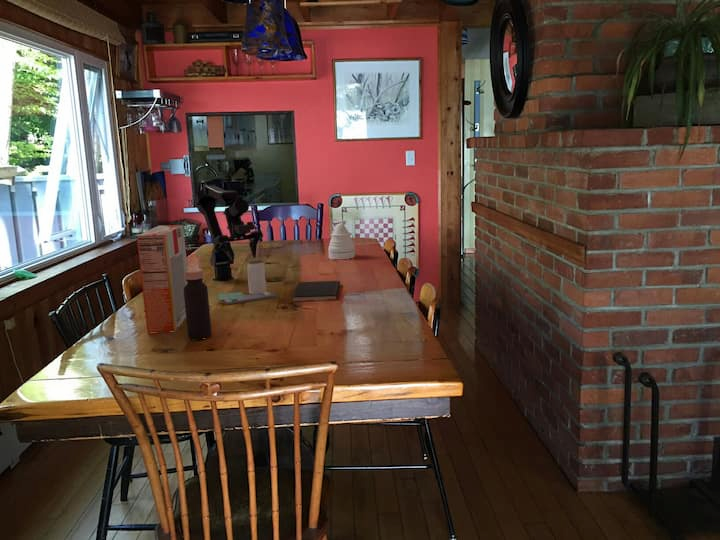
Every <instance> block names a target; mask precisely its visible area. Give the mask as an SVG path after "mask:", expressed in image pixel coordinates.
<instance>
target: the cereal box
mask: <svg viewBox="0 0 720 540" xmlns="http://www.w3.org/2000/svg"><path fill="white" fill-rule="evenodd" d="M136 245H137V254H138V261H139V270H140V279H141V286H142V287H141V289H142V296H143V305H144V313H145V322H146V323H145V324H146V331H147V332H146V333H147V334H148V333H150V332H170V331H175V330H176V329H177V327H178V326H179V325H180V324H181V323H182V321H183V320H184V319H185V318H186V311H185V301H184V291H183V289H184V287H185V286H186V285H187V281H186V277H185V271H187V270H189V269H188V260H187V251H186V248H187V247H186V241H185V229H184V224H172V225H171V224H169V225H166V224H165V225H158V226H155V227H152V228H151V229H149V230H146V231H144V232H142V233H140V234H138V235H136ZM185 320H186V319H185ZM185 320H184V321H185ZM182 324H183V323H182ZM182 324H181V325H182ZM181 325H180V326H181ZM180 326H179V327H180ZM177 330H178V329H177ZM177 330H176V331H177ZM176 331H175V332H176Z"/></svg>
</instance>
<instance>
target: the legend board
mask: <svg viewBox="0 0 720 540" xmlns="http://www.w3.org/2000/svg"><path fill="white" fill-rule="evenodd" d="M273 298H277V295H276V293H274V292H273V291H267V290H266V292H262V293H259V294H246V295H244V296H239V297H234V296H231V297H229V298H225V299H224V301H225V302H224V301H223V302H224V303H225V304H227V305H232V304H234V305H235V304H240V303H246V302H252V301H260V300H265V299H266V300H267V299H273Z"/></svg>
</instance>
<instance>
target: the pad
mask: <svg viewBox="0 0 720 540" xmlns="http://www.w3.org/2000/svg"><path fill="white" fill-rule="evenodd" d="M231 296H234V297H239V296H245V295H244V293H243V292H242V291H240V292H239V291H238V292H230V293H221V294H217V297H218V300H219V302H222V300H224V299H225V298H229V297H231Z"/></svg>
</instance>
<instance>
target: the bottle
mask: <svg viewBox="0 0 720 540" xmlns="http://www.w3.org/2000/svg"><path fill="white" fill-rule="evenodd" d="M203 273H204V272H203V269H202V268H201V269H200V268H195V269H194V268H192V269H188V270H187V271H185V277H186V281H187V285H186V286H185V287H184V289H183V291H184V301H185V311H186V319H185V321H186V327H187V330H186V331H187V338H188V339H189V338H190V339H189V340H191V339H203V338H207V337H209V338H210V336H211V335H212V334H213V333H212V324H211V314H210V301H209V292H208V285H207V284H205V283H204V281H203V279H204V274H203ZM211 337H212V336H211ZM207 339H208V338H207ZM203 340H204V339H203Z"/></svg>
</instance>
